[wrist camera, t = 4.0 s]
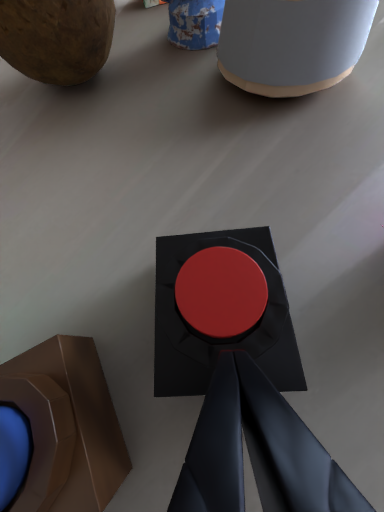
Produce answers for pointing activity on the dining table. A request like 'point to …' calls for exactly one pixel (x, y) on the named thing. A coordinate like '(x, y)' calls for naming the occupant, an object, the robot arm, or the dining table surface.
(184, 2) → the lantern
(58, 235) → the dining table surface
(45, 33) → the bowl
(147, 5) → the stack of blocks
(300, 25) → the desk lamp
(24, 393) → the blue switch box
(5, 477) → the blue button
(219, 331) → the light button
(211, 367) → the switch box
